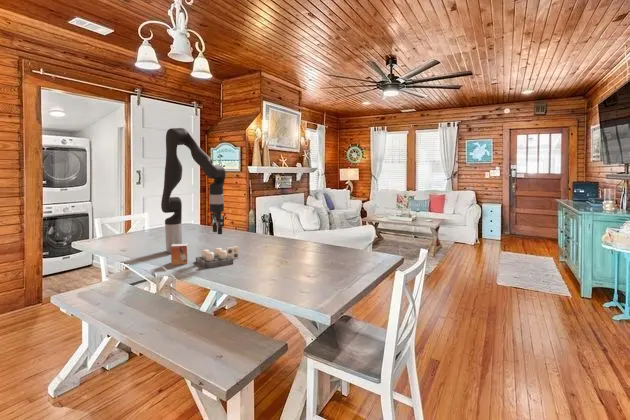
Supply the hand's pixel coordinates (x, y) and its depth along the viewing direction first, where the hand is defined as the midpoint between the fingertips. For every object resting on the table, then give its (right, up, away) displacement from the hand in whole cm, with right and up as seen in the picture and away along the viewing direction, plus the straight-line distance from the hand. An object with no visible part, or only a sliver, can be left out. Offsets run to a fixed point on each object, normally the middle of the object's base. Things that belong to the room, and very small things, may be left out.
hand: (217, 233), depth 185 cm
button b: (+4, -14, -4) cm, 15 cm away
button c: (-6, -14, -3) cm, 15 cm away
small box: (-19, -16, -4) cm, 25 cm away
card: (+7, -15, +6) cm, 18 cm away
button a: (-1, -14, -8) cm, 16 cm away
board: (-1, -16, -3) cm, 17 cm away
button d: (0, -13, +2) cm, 13 cm away
